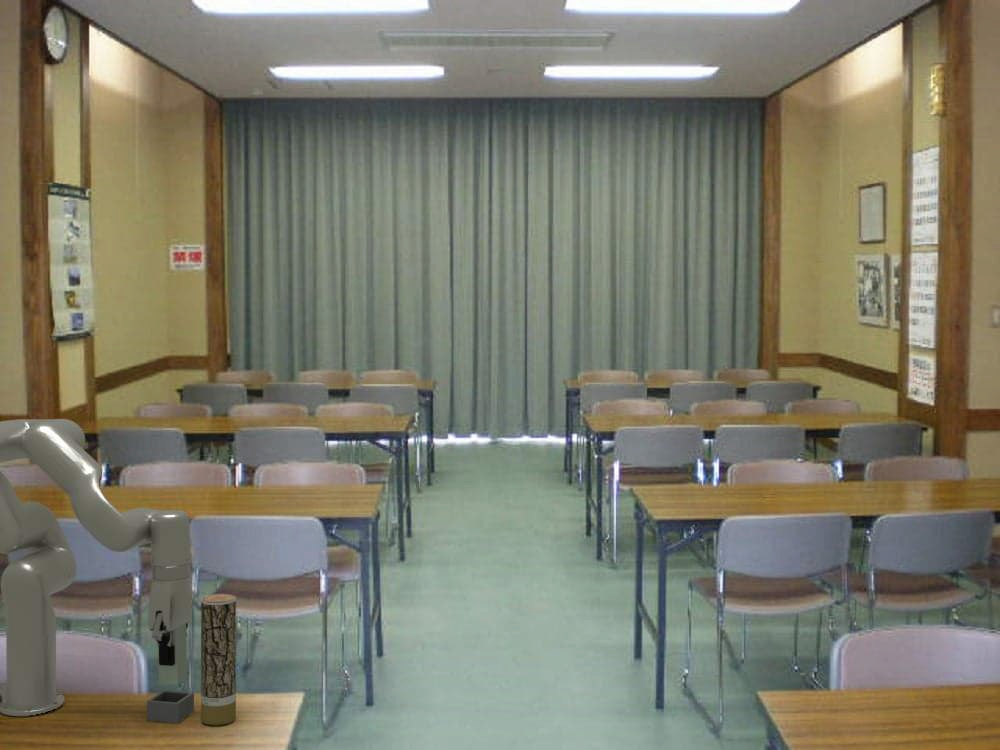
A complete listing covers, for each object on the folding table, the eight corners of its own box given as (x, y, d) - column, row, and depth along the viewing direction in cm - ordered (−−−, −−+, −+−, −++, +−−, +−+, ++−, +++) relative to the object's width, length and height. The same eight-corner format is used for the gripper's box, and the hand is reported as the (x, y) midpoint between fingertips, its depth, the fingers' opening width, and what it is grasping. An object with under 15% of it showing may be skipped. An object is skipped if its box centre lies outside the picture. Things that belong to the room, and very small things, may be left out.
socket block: (146, 720, 222) (146, 701, 222) (163, 709, 229) (163, 690, 229) (177, 723, 221) (177, 704, 221) (193, 712, 228) (193, 692, 228)
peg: (159, 683, 223) (158, 625, 223) (169, 677, 227) (167, 619, 226) (177, 685, 222) (176, 626, 222) (187, 678, 226) (185, 620, 226)
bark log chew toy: (226, 728, 219) (227, 603, 218) (195, 725, 220) (195, 601, 219) (241, 716, 226) (241, 595, 224) (210, 713, 227) (210, 593, 226)
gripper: (174, 562, 233) (175, 648, 233) (132, 580, 216) (134, 673, 217) (207, 564, 231) (208, 650, 232) (167, 582, 215) (169, 675, 216)
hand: (172, 660), depth 224 cm, fingers closed on peg, 4 cm apart
